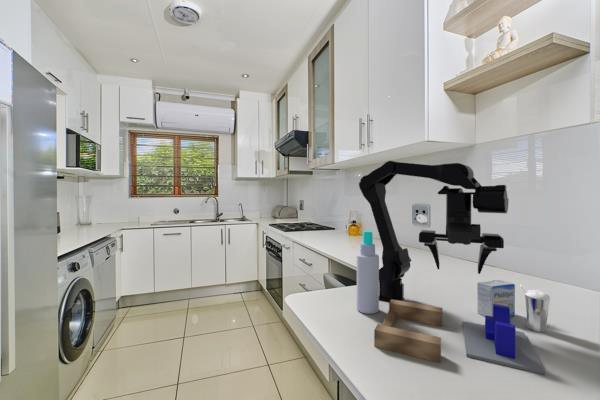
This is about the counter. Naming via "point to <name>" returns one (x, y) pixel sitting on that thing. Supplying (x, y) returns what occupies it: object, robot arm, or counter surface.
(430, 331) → the counter surface
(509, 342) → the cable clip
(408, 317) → the walnut holder
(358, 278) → the spray bottle
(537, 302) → the milkshake
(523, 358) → the rubber mat
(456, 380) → the counter surface
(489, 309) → the medicine box
